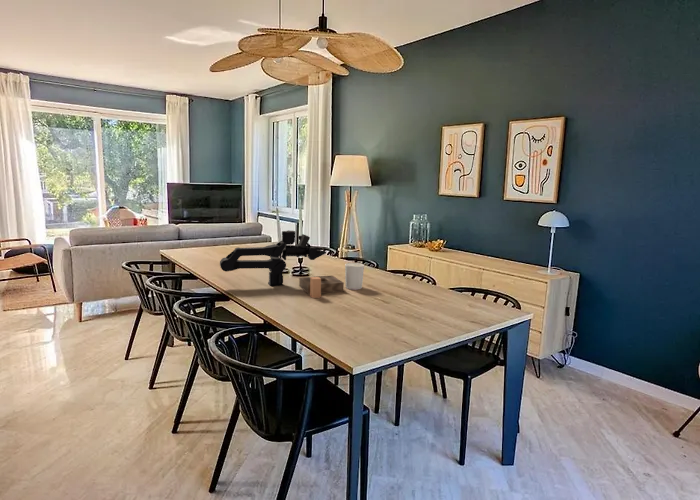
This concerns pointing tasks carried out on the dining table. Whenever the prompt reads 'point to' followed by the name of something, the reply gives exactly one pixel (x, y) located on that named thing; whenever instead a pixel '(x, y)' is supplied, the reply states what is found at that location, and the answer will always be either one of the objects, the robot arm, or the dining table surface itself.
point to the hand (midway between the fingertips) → (323, 250)
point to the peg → (315, 287)
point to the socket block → (323, 284)
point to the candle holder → (354, 275)
